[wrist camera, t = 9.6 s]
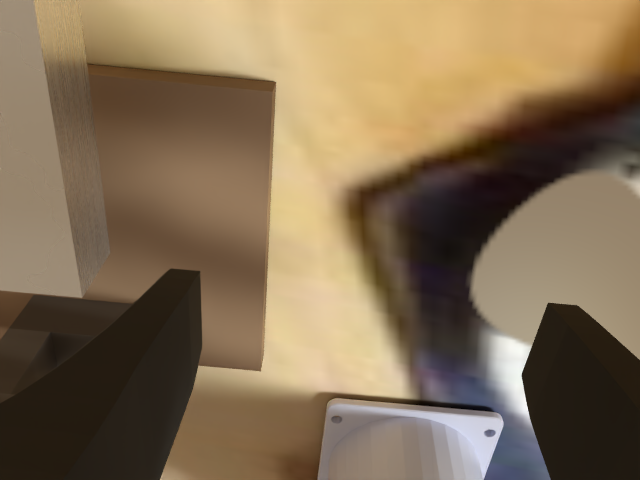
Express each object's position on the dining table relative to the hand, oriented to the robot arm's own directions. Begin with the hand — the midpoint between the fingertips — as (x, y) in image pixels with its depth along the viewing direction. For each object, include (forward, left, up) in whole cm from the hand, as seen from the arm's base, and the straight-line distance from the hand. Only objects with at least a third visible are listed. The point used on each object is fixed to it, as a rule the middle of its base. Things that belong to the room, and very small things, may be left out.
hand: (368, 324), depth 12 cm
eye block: (-5, +9, -9) cm, 14 cm away
